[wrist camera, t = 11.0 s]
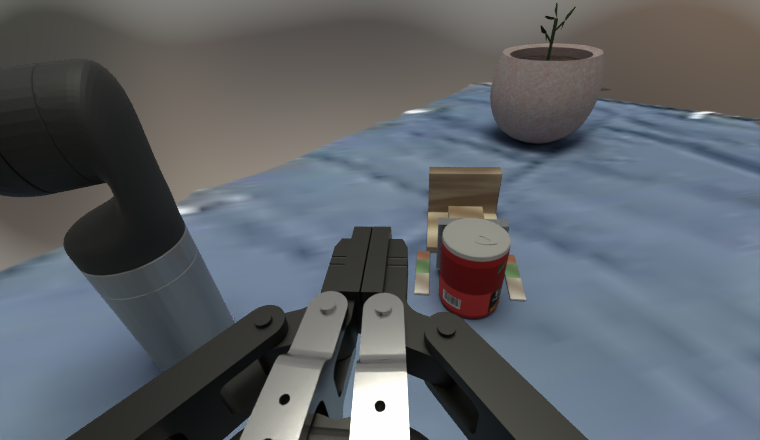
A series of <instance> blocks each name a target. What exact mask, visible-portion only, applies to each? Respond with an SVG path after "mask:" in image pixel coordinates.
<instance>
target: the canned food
mask: <svg viewBox="0 0 760 440" xmlns="http://www.w3.org/2000/svg"><path fill="white" fill-rule="evenodd" d="M510 243H511V239H510V236H509V234H508V233H507V231H506V230H505V229H504V228H502V227H501V226H499V225H498V224H496V223H494V222H491V221H488V220H484V219H478V218H463V219H458V220H455V221H453V222H451V223H449V224H448V225H447V226H446V227H445V228H444V230H443V235H442V243H441V261H440V281H439V294H440V298H441V300H442V302H443V304H444V306H445V307H446V308H447V309H448V310H449V311H451V312H452V313H454V314H456V315H458V316H461V317H464V318H472V319H475V318H482V317H485V316H487V315H489V314H490V313H491V312H492V311H493V310H494V309H495V308H496V306H497V304H498V302H499V297H500V293H501V288H502V284H503V279H504V275H505V270H506V266H507V261H508V256H509V251H510Z"/></svg>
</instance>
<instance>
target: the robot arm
mask: <svg viewBox="0 0 760 440" xmlns="http://www.w3.org/2000/svg"><path fill="white" fill-rule="evenodd" d="M102 183H107V184H108V185H109V187H110V188H111V190H112V193H113V194H114V197H113V198H111V199H110V200H108V201H107V202H105V203H104V204H102V205H100V206H98V207H97V208H95V209H93V210H92V211H90V212H88V213H87V214H85V215H84V216H83V217H82V218H80V219H79V220H78V221H77V222H76V223H75V224H74V225H73V226H72V227H71V228H70V229H69V230H68V232H67V233H66V235H65V238H64V249H65V251H66V253H67V254H68V256H69V257H70V259H71V260H72V261H73V262H74V264H75V265H76V266H77V267H78V269H79V270H80V271H81V272H82V273H83V275H84V276H85V277H86V278H87V280H88V281H89V282H90V283H91V284H92V286H93V287H94V288H95V289H96V291H97V292H98V293H99V294H100V295H101V296H102V298H103V299H104V300H105V301H106V303H107V304H108V305H109V306H110V308H111V309H112V310H113V311H114V313H115V314H116V315H117V316H118V317H119V319H120V320H121V321H122V322H123V324H124V325H125V326H126V327H127V329H128V330H129V331H130V332H131V334H132V335H133V336H134V337H135V338H136V340H137V341H138V342H139V343H140V345H141V346H142V347H143V348H144V350H145V351H146V352H147V353H148V355H149V356H150V357H151V359H152V360H153V361H154V362H155V363H156V365H157V366H158V367H159V368H160V370H161V371H162V372H163V373H162V374H160V375H159V376H157V377H156V378H155V379H153V380H152V381H150V382H149V383H147V384H146V385H144V386H143V387H141V388H140V389H138V390H137V391H136V392H134V393H133V394H131V395H130V396H128V397H127V398H125V399H124V400H122V401H121V402H120V403H118V404H117V405H115V406H114V407H112V408H111V409H109V410H108V411H106V412H105V413H103V414H102V415H101V416H99V417H98V418H96V419H95V420H93V421H92V422H90V423H89V424H87V425H86V426H85V427H83V428H82V429H80V430H79V431H77V432H76V433H74V434H73V435H71V436H70V437H68V438H67V439H66V440H223V439H224V438H225V437H226V436H228V435H229V434H230V433H231V432H232V431H233V430H234V429H236V428H237V427H238V426H239V425H240V424H241V423H242V422H244V421H245V420H246V419H247V418H248V417H249V416H250V415H251V416H250V418H249V420H248V422H247V425H246V427H245V428H244V429H242V430H241V431H240V432H238V433H237V434H236V435H235V436H233V437H232V438H231V439H230V440H429V439H428V438H426V437H425V436H424V435H422V434H421V433H420V432H418V431H416V430H414V429H412V428H410V427H409V414H408V392H407V373H408V374H411V375H413V376H415V377H418V378H420V379H423V380H424V382H425V384H426V385H427V387H428V388H429V390H430V391H431V392H432V393H433V395H434V396H435V397H436V399H437V400H438V401H439V402H440V404H441V405H442V406H443V408H444V409H445V410H446V412H447V413H448V414H449V415H450V417H451V418H452V419H453V421H454V422H455V423H456V424H457V426H458V427H459V428H460V430H461V431H462V432H463V433H464V435H465V436H466V437H467V439H468V440H588V439H587V438H586V437H585V436H584V435H583V434H582V433H581V432H580V431H579V430H578V429H577V428H576V427H574V426H573V425H572V424H571V423H570V422H569V421H568V420H567V419H566V418H565V417H564V416H563V415H562V414H561V413H560V412H559V411H558V410H557V409H556V408H555V407H554V406H553V405H552V404H550V403H549V402H548V401H547V400H546V399H545V398H544V397H543V396H542V395H541V394H540V393H539V392H538V391H537V390H536V389H535V388H534V387H533V386H532V385H531V384H530V383H529V382H528V381H526V380H525V379H524V378H523V377H522V376H521V375H520V374H519V373H518V372H517V371H516V370H515V369H514V368H513V367H512V366H511V365H510V364H509V363H508V362H507V361H506V360H505V359H504V358H502V357H501V356H500V355H499V354H498V353H497V352H496V351H495V350H494V349H493V348H492V347H491V346H490V345H489V344H488V343H487V342H486V341H485V340H484V339H483V338H482V337H481V336H480V335H478V334H477V333H476V332H475V331H474V330H473V329H472V328H471V327H470V326H469V325H468V324H467V323H466V322H465V321H464V320H463V319H462V318H460V317H459V316H457V315H455V314H453V313H449V312H440V313H436V314H434V315H432V316H430V317H428V316H425V315H422V314H420V313H417V312H416V311H414V310H413V309H412V308H411V307H410V306H409V305H408V303H407V288H408V248H407V246H406V244H405V242H404V240H403V239H392V235H391V227H354V231H353V235H352V238H351V239H341V241H340V242H339V243H338V244H337V245H336V246H335V248H334V251H333V254H332V258H331V261H330V265H329V267H328V271H327V274H326V277H325V280H324V284H323V287H322V290H321V293H320V294H319V295H317V296H315V297H314V298H313V299H312V300H311V302H310V303H309V305H308V307H306V308H303V309H300V310H296V311H292V312H288V313H284V312H283V310H282V309H281V308H280V307H278V306H275V305H266V306H262V307H259V308H257V309H255V310H254V311H252V312H251V313H249V314H248V315H246V316H245V317H243V318H242V319H241V320H239V321H238V322H236V323H235V322H234V320H233V318H232V316H231V314H230V312H229V310H228V308H227V306H226V304H225V302H224V300H223V298H222V296H221V294H220V292H219V290H218V288H217V286H216V284H215V282H214V280H213V278H212V276H211V274H210V272H209V270H208V268H207V266H206V264H205V263H204V261H203V259H202V257H201V255H200V253H199V251H198V249H197V247H196V245H195V243H194V241H193V239H192V237H191V235H190V233H189V231H188V229H187V227H186V225H185V223H184V221H183V219H182V217H181V215H180V213H179V210H178V208H177V206H176V203H175V201H174V199H173V196H172V194H171V192H170V189H169V187H168V185H167V183H166V181H165V179H164V177H163V175H162V173H161V170H160V169H159V166H158V164H157V161H156V159H155V157H154V154H153V152H152V150H151V147H150V145H149V142H148V140H147V138H146V135H145V133H144V130H143V128H142V126H141V123H140V121H139V119H138V116H137V114H136V112H135V110H134V108H133V105H132V103H131V102H130V100H129V98H128V96H127V94H126V93H125V91H124V89H123V88H122V86H121V85H120V84H119V82H118V81H117V80H116V78H115V77H114V76H113V75H112V74H111V73H110V72H109V71H108V70H107V69H106V68H104V67H103V66H102V65H100V64H99V63H97V62H95V61H92V60H88V59H69V60H59V61H51V62H41V63H33V64H24V65H16V66H7V67H0V195H3V196H11V197H35V196H43V195H49V194H54V193H58V192H64V191H69V190H73V189H78V188H83V187H88V186H93V185H98V184H102ZM358 333H360V334H361V343H360V356H359V361H357V363H356V369H355V380H354V392H353V403H352V415H351V417H348V418H343V404H344V399H345V395H346V391H347V387H348V383H349V379H350V375H351V371H352V367H353V363H354V359H355V355H356V342H357V336H358Z"/></svg>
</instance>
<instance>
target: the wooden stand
mask: <svg viewBox="0 0 760 440" xmlns="http://www.w3.org/2000/svg"><path fill="white" fill-rule="evenodd" d="M501 180H502V171H501V168H500V167H430V170H429V208H428V234H427V251H418V252H417V265H416V278H415V292H414V294H420V295H429V267H430V252H437V238H438V218H478V219H497V217H496V209H497V203H498V197H499V191H500V186H501ZM505 278H506V283H507V287H508V292H509V296H510V300H516V301H526V297H525V293H524V290H523V286H522V282H521V278H520V275H519V271H518V267H517V264H516V260H515V256H514V255H509V256H508V261H507V266H506V270H505Z"/></svg>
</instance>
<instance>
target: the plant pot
mask: <svg viewBox="0 0 760 440" xmlns="http://www.w3.org/2000/svg"><path fill="white" fill-rule="evenodd" d="M557 5H558V4H557V3H556V8H555V13H556V16H557ZM574 9H575V7H574V8H573V10H574ZM573 10H571V11H570V13H569V14H568V15H567V16H566V19H565V20H567V18H568V17H569V16H570V15H571V13H572V12H573ZM546 18H547V19H554V17H549V16H546ZM557 21H558V19H557V18H556V19H554V25H553V30H552V35H551V40H550V38H549V36H548V35H547V34H546V31H545V29H544V28H543V27H542V26H541V31H542V33H545V34H546V38H548V40H549V41H550V44H530V45H520V46H515V47H511V48H507V49H505V50H503V52H502V55H501V57H500V61H499V63H498V65H497V68H496V71H495V75H494V78H493V82H492V87H491V95H490V100H491V109H492V113H493V116H494V119H495V121H496V122H497V124H498V126H499V127H500V129H501V130H502V131H503V132H505V133H506V134H507V135H509V136H510V137H512V138H514V139H516V140H519V141H522V142H527V143H548V142H553V141H556V140H559V139H562V138H564V137H566V136H568V135H569V134H571V133H572V132H574V131H575V130H577V129H578V128H579V127H580V126H581V125H582V124H583V123H584V121H585V120H586V119H587V117H588V116H589V114H590V113H591V111H592V109H593V107H594V105H595V103H596V101H597V99H598V96H599V93H600V90H601V85H602V79H603V67H604V52H603V51H602V50H601V49H598V48H595V47H591V46H584V45H576V44H554V43H553V40H554V35H555V31H556V30H557V29H558V28H559V27H560V26H561V25H562V24H563V25H564V22H562V23H561V24H560V25H559V26H558V27H557V28H556V26H557ZM563 25H562V27H563Z"/></svg>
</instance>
